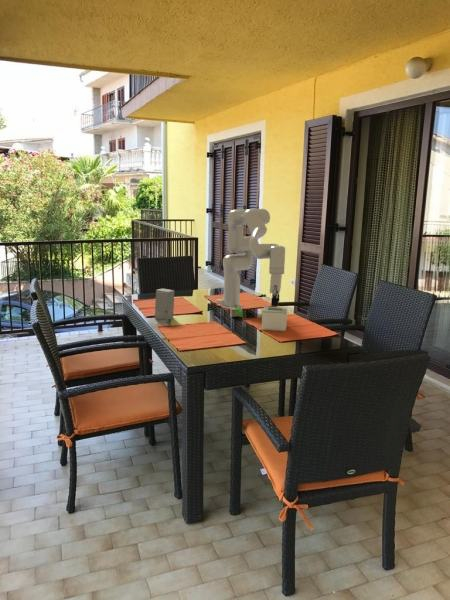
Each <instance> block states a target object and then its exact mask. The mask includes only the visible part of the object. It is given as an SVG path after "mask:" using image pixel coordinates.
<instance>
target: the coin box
mask: <svg viewBox="0 0 450 600" xmlns="http://www.w3.org/2000/svg"><path fill="white" fill-rule="evenodd" d="M287 323H288V307H283V306H282V307H281V306H265V305H264V307H263V309H262V312H261V331H270V330H271V331H272V332H273V331H274V332H286V330H287V325H288V324H287Z"/></svg>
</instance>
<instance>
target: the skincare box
mask: <svg viewBox="0 0 450 600" xmlns="http://www.w3.org/2000/svg"><path fill="white" fill-rule="evenodd" d="M175 292H176V291H175V290H174V289H168V288H159V289H156V290H155V305H154V318H155V319H158V320H164V321H168V320H171V319H174V309H175Z"/></svg>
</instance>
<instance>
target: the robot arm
mask: <svg viewBox="0 0 450 600" xmlns="http://www.w3.org/2000/svg"><path fill="white" fill-rule="evenodd" d="M270 219H271V216H270V213H269V211H268V210H267V209H265V208H250V209H243V208H242V209H233V210H231V211H229V212H228V214H227V226H228V232H227V240H226V241H227V244H226V247H227V248H226V249H227V252H229V253H231V254H227V255H225V256H224V257H223V259H222V267H223V286H224V287H223V298H222V299H216V303H218V304H220V308H223V309H228V310H230V307H234V304H237V307H243V305H242V304H241V303H240V299H241V298H240V296H241V294H240V293H241V292H240V291H241V276H240V274H239V273H238V271H247V270H249V269H251V267H252V264H253V257H254V258H256V259H258V260H263V259H265V260H267V259H269V263H268V264H269V265H268V266H269V268H268V269H269V270H268V273H269V275H270V281H269V294H270V295H271V294H272V295H271V304H270V305H271V306H270V307H279V302H280V292H281V288H282V275H285V265H286V263H285V262H286V261H285V259H286V248H285V246H283V245H279V244H277V243H259V241H258V240H259V239H261V238H262V237H265V235H266V234H267V232H268V231H267V230H268V228H267V226H266V225H267V224H269V222H270ZM244 225H245V226H247V228H248V230H249V232H250V233H251V235H250V236H247V235H246V236H245V235H244V228H243V226H244Z"/></svg>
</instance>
